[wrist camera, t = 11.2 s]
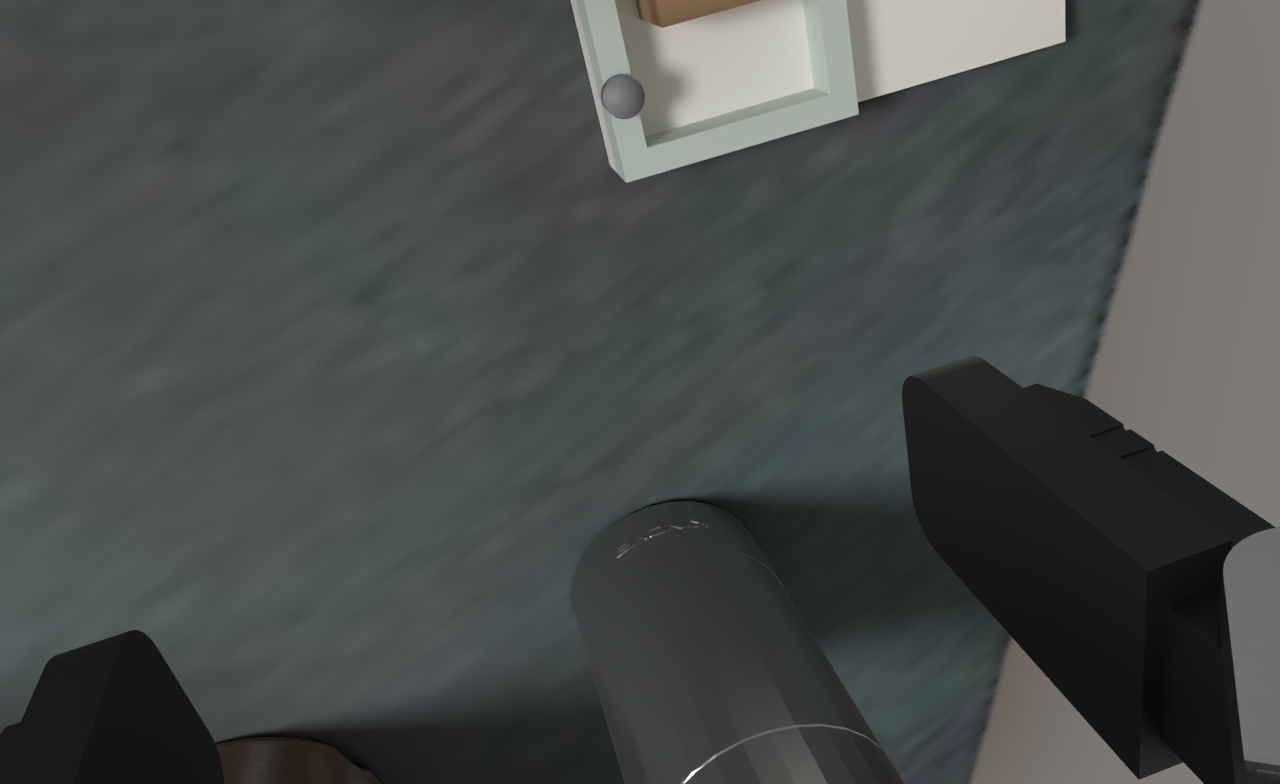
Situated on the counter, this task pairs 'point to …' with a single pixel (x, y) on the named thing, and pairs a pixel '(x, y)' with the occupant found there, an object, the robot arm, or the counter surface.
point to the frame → (682, 9)
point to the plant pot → (288, 763)
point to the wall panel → (780, 66)
